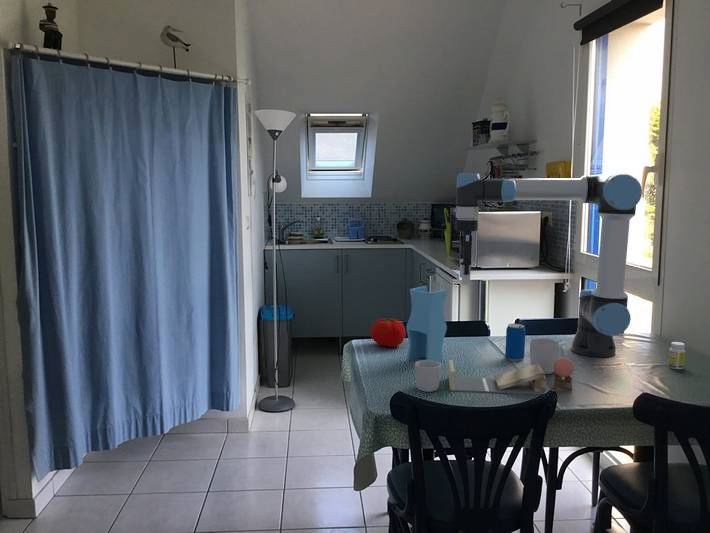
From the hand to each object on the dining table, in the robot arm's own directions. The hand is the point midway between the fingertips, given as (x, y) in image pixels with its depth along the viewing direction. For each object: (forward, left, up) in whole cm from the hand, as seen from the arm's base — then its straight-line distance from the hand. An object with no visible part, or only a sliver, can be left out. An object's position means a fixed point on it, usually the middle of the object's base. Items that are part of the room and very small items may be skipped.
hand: (464, 280), depth 221 cm
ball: (-28, +29, -24) cm, 47 cm away
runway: (-9, +29, -28) cm, 41 cm away
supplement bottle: (-71, +2, -28) cm, 77 cm away
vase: (+13, +5, -28) cm, 31 cm away
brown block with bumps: (-28, +29, -28) cm, 49 cm away
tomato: (+27, -12, -28) cm, 40 cm away
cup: (+13, +33, -28) cm, 45 cm away
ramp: (-15, +29, -28) cm, 43 cm away
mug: (-27, +11, -28) cm, 40 cm away
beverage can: (-18, -1, -28) cm, 33 cm away
